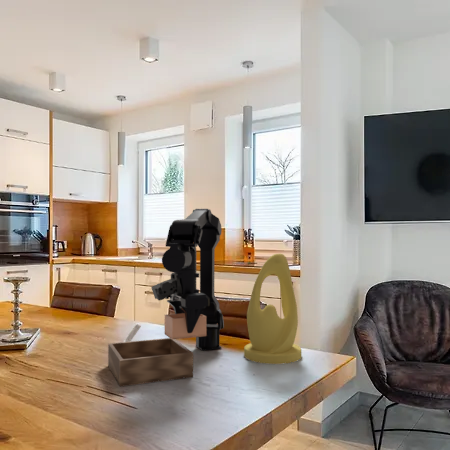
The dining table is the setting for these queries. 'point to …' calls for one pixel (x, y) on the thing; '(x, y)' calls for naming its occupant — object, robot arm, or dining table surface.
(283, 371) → the dining table surface
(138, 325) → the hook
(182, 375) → the big crate
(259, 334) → the sculpture
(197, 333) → the small crate
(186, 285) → the robot arm
